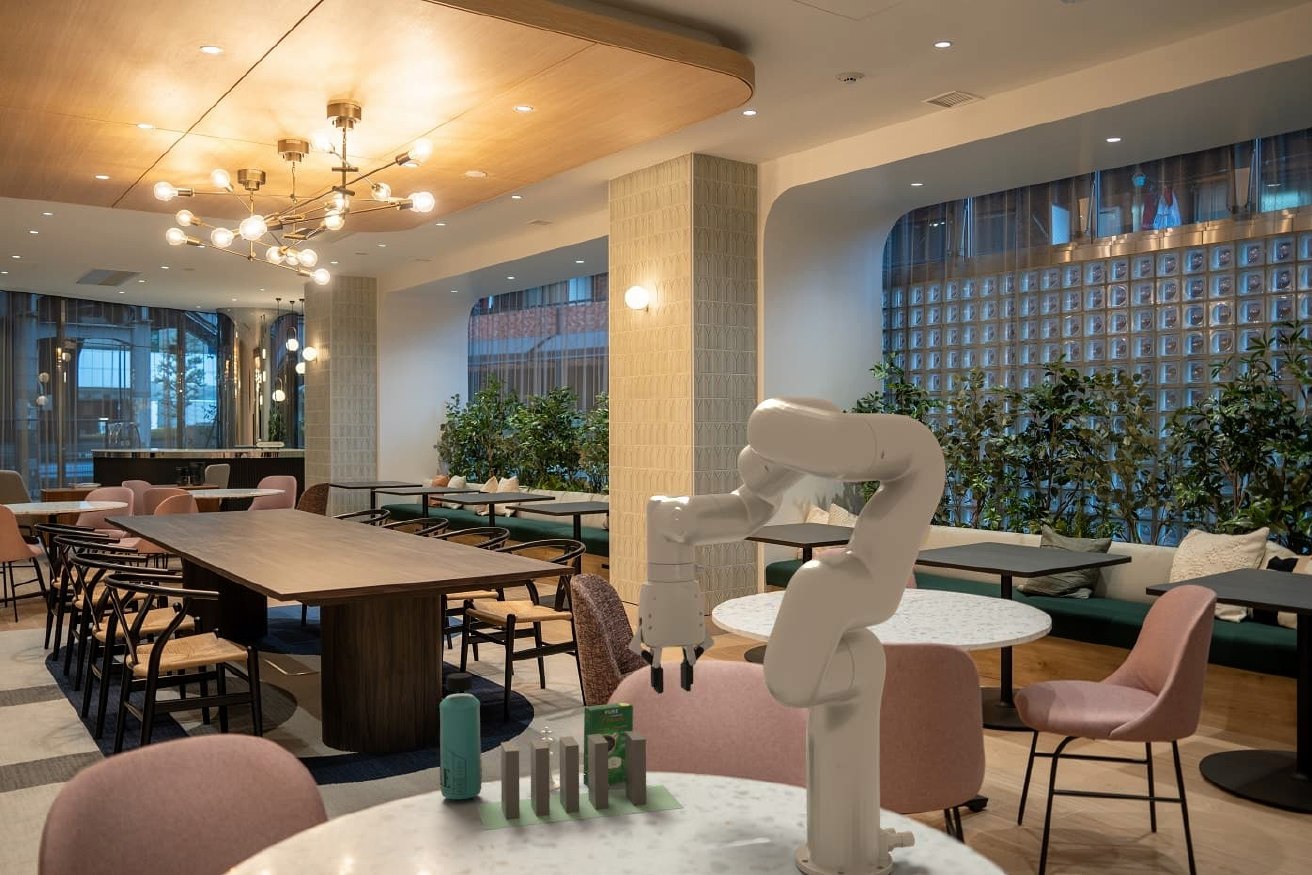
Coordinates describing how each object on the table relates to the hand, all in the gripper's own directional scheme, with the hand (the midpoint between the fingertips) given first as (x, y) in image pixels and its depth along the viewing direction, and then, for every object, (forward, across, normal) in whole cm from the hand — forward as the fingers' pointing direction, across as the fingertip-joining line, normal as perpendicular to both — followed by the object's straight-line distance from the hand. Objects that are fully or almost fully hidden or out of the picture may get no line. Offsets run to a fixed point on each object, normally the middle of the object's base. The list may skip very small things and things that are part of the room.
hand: (672, 689), depth 162 cm
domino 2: (+17, +21, 0) cm, 27 cm away
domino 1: (+17, +26, 0) cm, 30 cm away
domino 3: (+17, +16, 0) cm, 23 cm away
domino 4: (+17, +12, 0) cm, 21 cm away
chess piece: (+17, +18, -11) cm, 27 cm away
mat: (+17, +15, 0) cm, 23 cm away
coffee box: (+17, +8, -10) cm, 22 cm away
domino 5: (+17, +6, 0) cm, 18 cm away
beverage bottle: (+17, +32, -9) cm, 38 cm away
